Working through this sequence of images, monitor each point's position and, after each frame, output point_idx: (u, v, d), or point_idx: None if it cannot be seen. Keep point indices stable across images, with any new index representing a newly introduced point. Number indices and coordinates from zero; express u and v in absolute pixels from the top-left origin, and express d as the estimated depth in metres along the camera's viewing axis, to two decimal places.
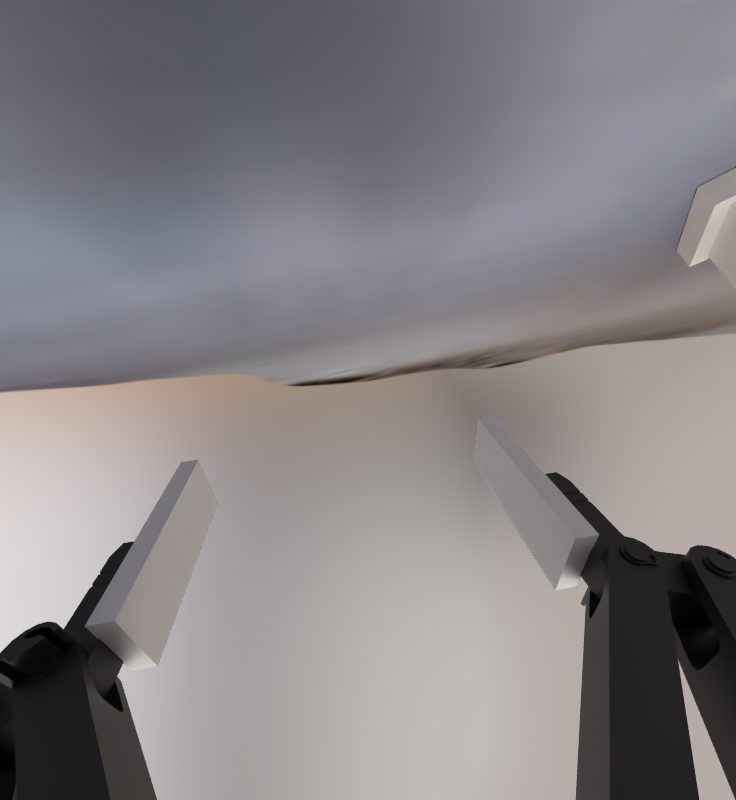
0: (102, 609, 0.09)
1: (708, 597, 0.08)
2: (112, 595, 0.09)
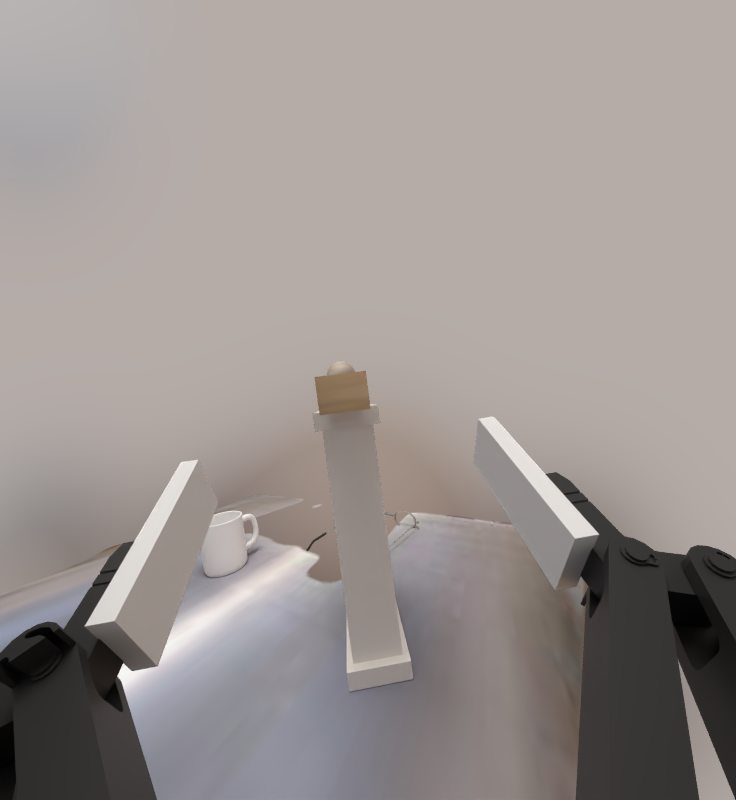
0: (102, 609, 0.09)
1: (708, 597, 0.08)
2: (112, 595, 0.09)
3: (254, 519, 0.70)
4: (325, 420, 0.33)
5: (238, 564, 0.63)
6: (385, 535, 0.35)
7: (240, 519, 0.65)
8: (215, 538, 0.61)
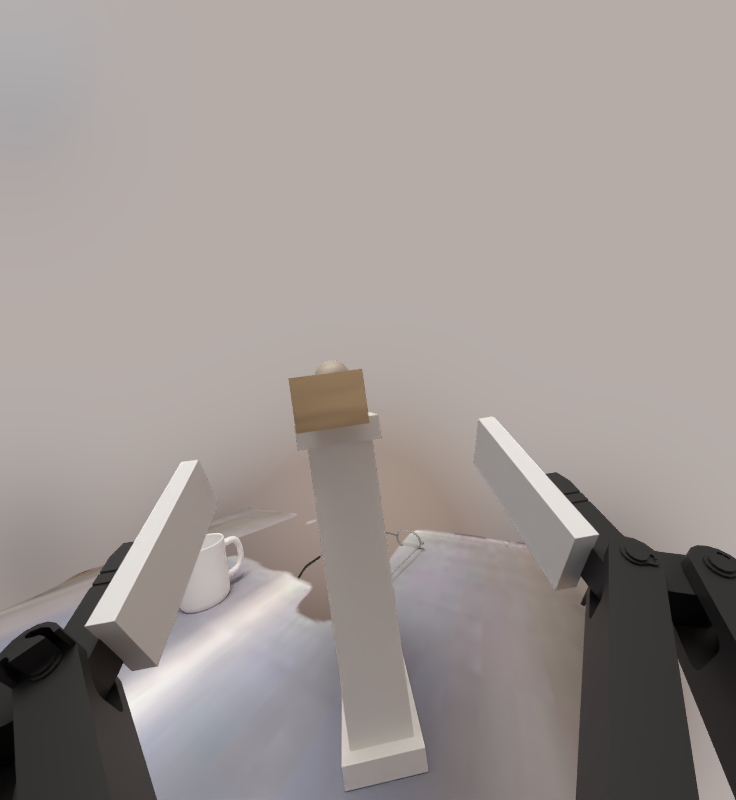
0: (102, 609, 0.09)
1: (708, 597, 0.08)
2: (112, 595, 0.09)
3: (238, 542, 0.62)
4: (311, 435, 0.26)
5: (218, 596, 0.54)
6: (390, 582, 0.27)
7: (221, 544, 0.57)
8: None
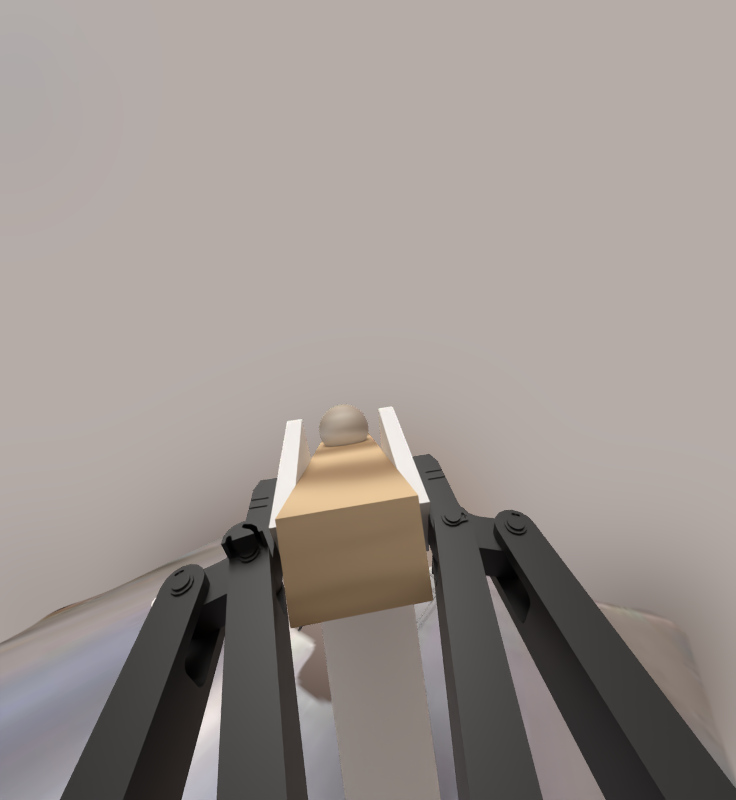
0: None
1: (514, 559, 0.09)
2: (280, 509, 0.11)
3: None
4: None
5: None
6: (428, 734, 0.19)
7: None
8: None
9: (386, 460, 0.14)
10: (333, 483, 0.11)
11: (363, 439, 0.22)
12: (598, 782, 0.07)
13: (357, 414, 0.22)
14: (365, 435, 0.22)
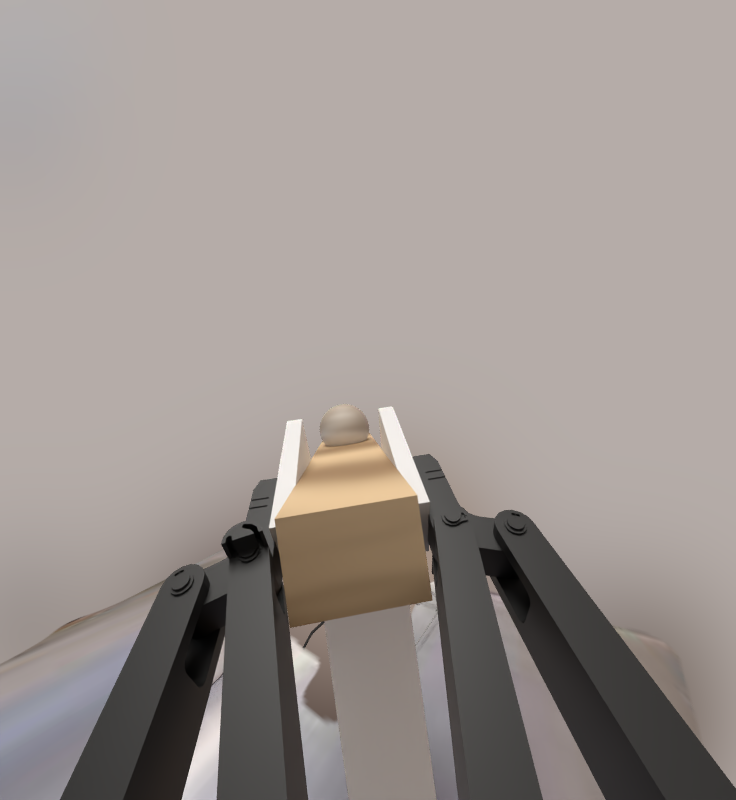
0: None
1: (514, 559, 0.09)
2: None
3: None
4: None
5: (214, 675, 0.48)
6: (429, 770, 0.20)
7: None
8: None
9: (386, 460, 0.14)
10: (333, 483, 0.12)
11: (364, 439, 0.22)
12: (598, 782, 0.07)
13: (358, 414, 0.22)
14: (366, 435, 0.22)
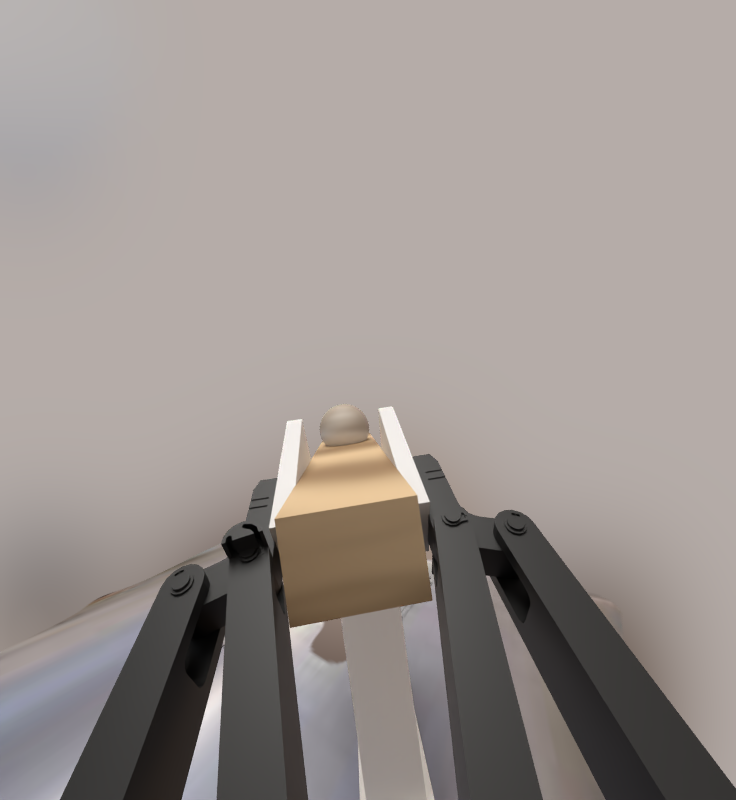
0: None
1: (514, 559, 0.09)
2: None
3: None
4: None
5: None
6: (405, 658, 0.29)
7: None
8: None
9: (386, 460, 0.14)
10: (333, 483, 0.11)
11: (364, 439, 0.22)
12: (598, 782, 0.07)
13: (358, 414, 0.22)
14: (366, 435, 0.22)
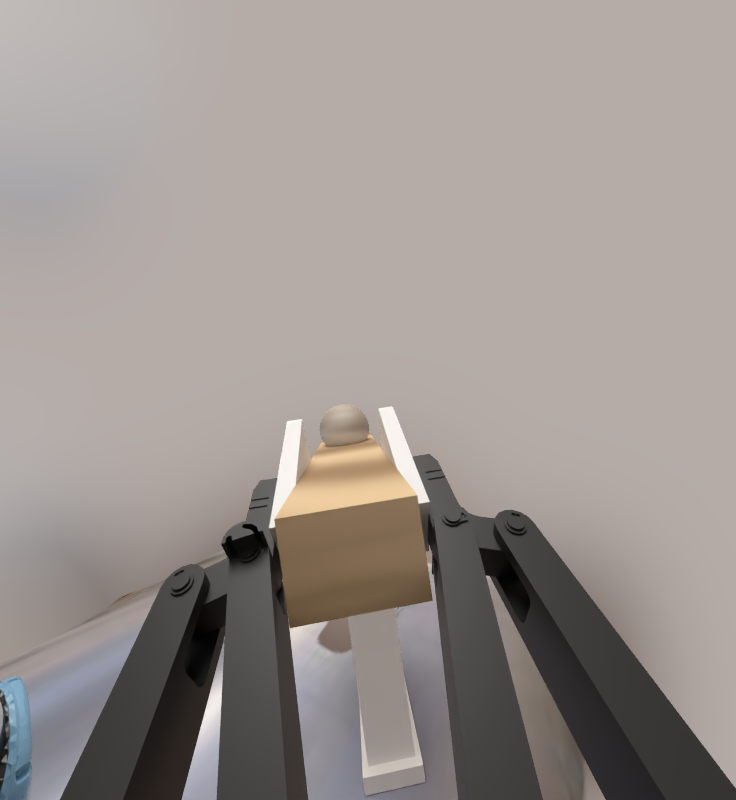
0: None
1: (514, 559, 0.09)
2: None
3: None
4: None
5: None
6: (397, 643, 0.37)
7: None
8: None
9: (386, 460, 0.14)
10: (333, 483, 0.11)
11: (364, 439, 0.22)
12: (598, 782, 0.07)
13: (358, 414, 0.22)
14: (366, 435, 0.22)
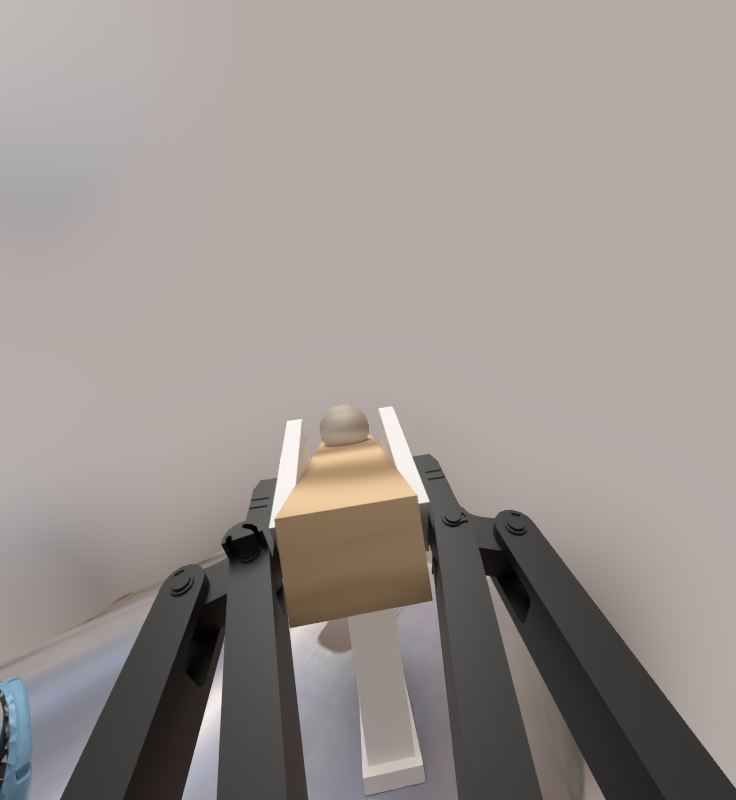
0: None
1: (514, 559, 0.09)
2: None
3: None
4: None
5: None
6: (397, 643, 0.37)
7: None
8: None
9: (386, 460, 0.14)
10: (333, 483, 0.11)
11: (364, 439, 0.22)
12: (598, 782, 0.07)
13: (358, 414, 0.22)
14: (366, 435, 0.22)
